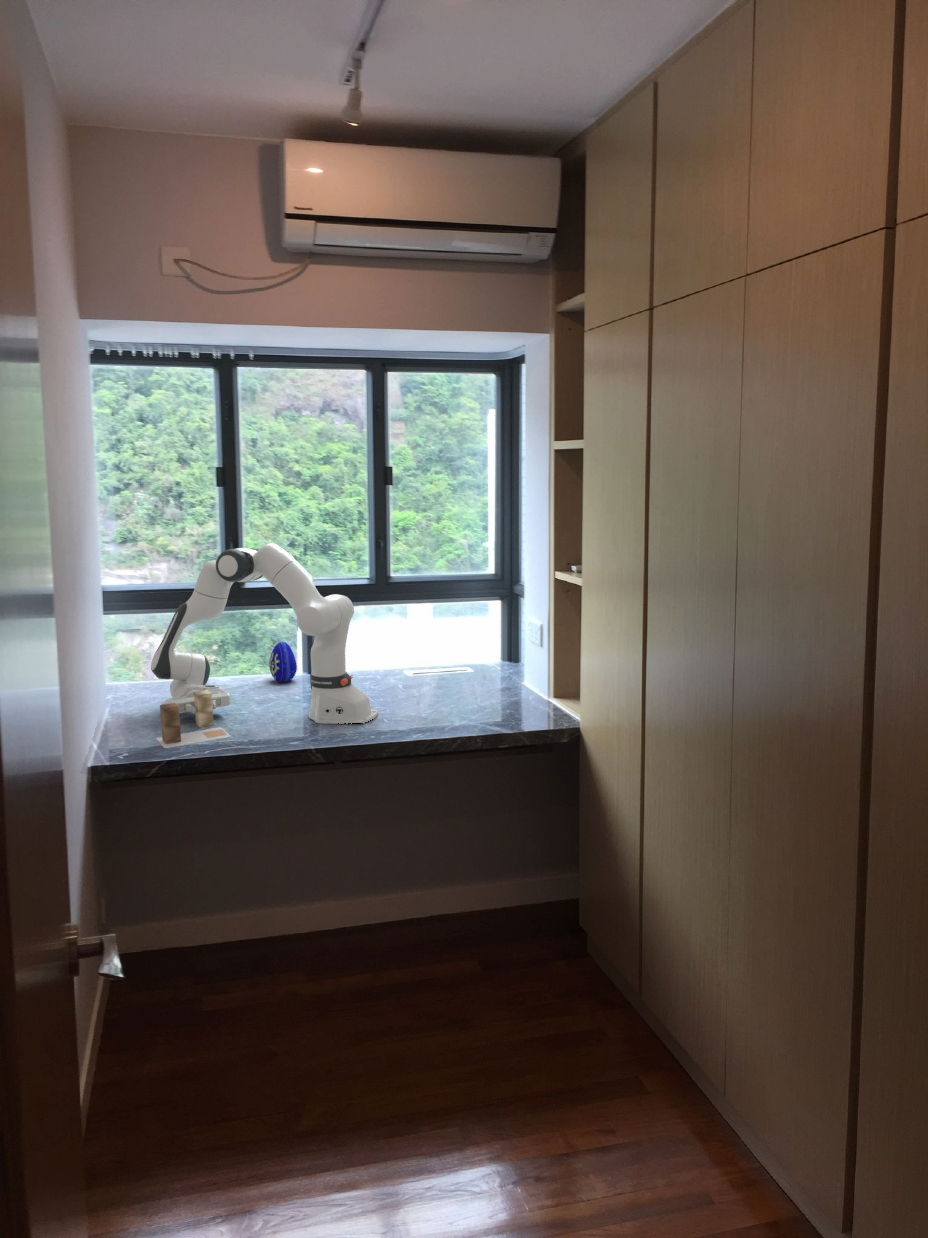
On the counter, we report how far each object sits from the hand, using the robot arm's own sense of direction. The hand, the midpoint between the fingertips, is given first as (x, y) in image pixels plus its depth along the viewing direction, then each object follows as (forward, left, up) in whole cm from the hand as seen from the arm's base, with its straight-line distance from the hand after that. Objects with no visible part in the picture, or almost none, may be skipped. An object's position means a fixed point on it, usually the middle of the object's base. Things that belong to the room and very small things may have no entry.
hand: (204, 708), depth 297 cm
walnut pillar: (+1, +16, -5) cm, 17 cm away
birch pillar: (+1, -1, -6) cm, 6 cm away
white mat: (-3, +12, -6) cm, 13 cm away
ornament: (+2, -56, -6) cm, 57 cm away
